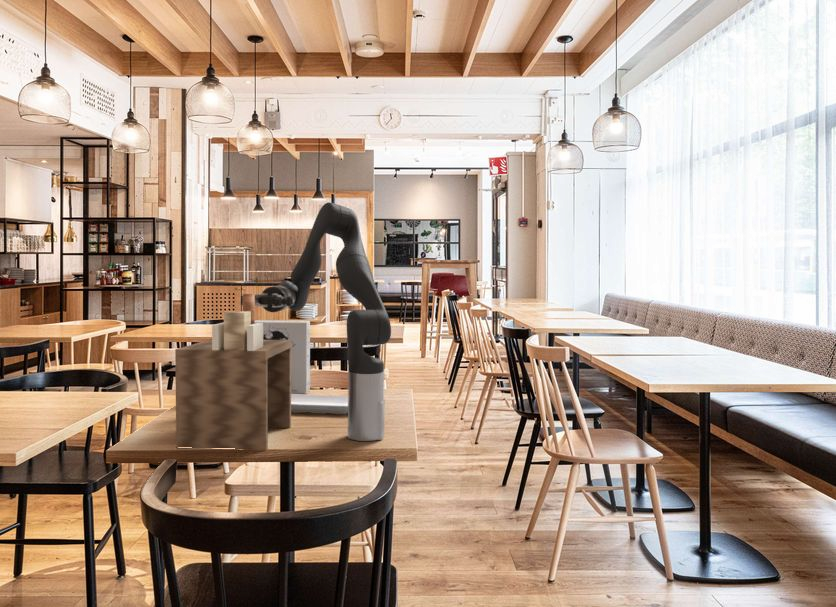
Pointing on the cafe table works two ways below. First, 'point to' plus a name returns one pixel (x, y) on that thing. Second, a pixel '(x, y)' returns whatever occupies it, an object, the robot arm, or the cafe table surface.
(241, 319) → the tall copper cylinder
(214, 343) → the upright cream panels
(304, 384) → the cereal box
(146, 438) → the cafe table surface
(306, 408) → the tray
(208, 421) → the open wooden cabinet
